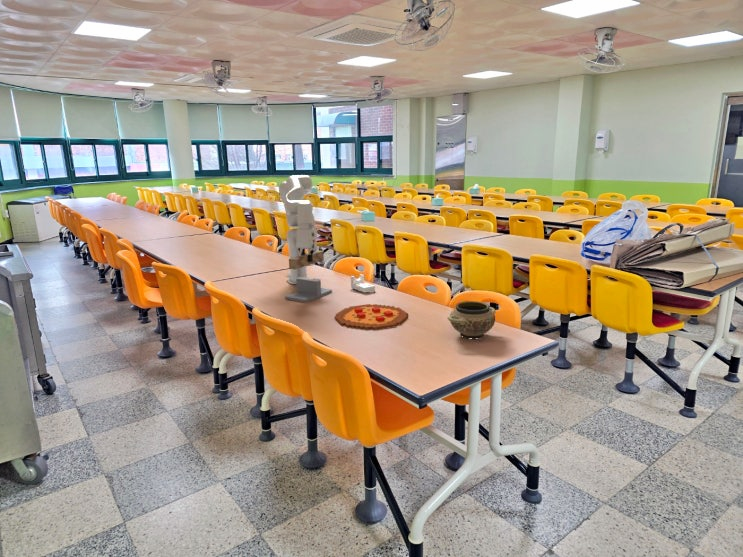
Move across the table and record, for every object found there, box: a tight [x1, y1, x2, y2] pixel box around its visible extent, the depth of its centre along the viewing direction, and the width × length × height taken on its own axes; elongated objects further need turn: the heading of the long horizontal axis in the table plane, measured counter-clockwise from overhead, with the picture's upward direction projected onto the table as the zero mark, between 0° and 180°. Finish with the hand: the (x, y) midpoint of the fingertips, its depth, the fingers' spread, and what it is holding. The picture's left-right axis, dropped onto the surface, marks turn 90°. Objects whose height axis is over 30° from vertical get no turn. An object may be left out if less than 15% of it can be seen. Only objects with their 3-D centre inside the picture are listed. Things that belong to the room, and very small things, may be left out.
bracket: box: [350, 273, 376, 293], centre depth 266 cm, size 13×7×8 cm, turn 36°
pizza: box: [334, 303, 409, 331], centre depth 221 cm, size 32×32×3 cm
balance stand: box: [284, 276, 333, 303], centre depth 257 cm, size 14×22×10 cm, turn 148°
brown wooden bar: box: [288, 250, 325, 270], centre depth 253 cm, size 24×4×5 cm, turn 148°
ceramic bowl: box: [447, 300, 496, 340], centre depth 195 cm, size 24×18×15 cm
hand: (307, 261), depth 253 cm, fingers closed on brown wooden bar, 3 cm apart
